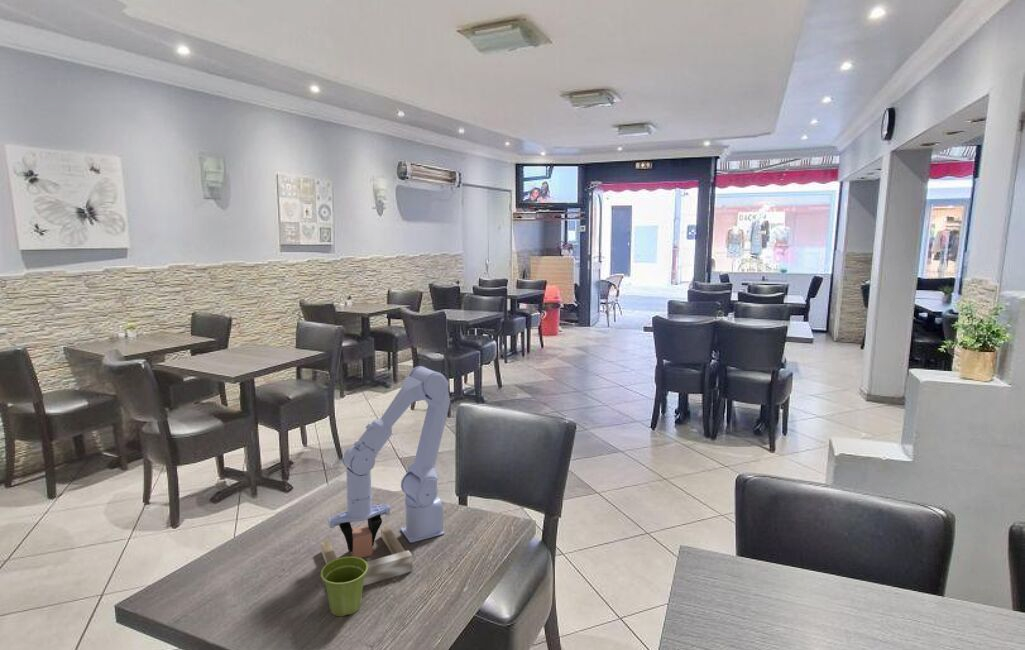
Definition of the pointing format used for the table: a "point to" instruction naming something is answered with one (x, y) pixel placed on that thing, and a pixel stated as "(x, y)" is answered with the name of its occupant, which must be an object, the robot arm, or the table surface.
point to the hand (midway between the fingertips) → (360, 547)
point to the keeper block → (361, 542)
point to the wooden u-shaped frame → (380, 559)
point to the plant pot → (344, 584)
